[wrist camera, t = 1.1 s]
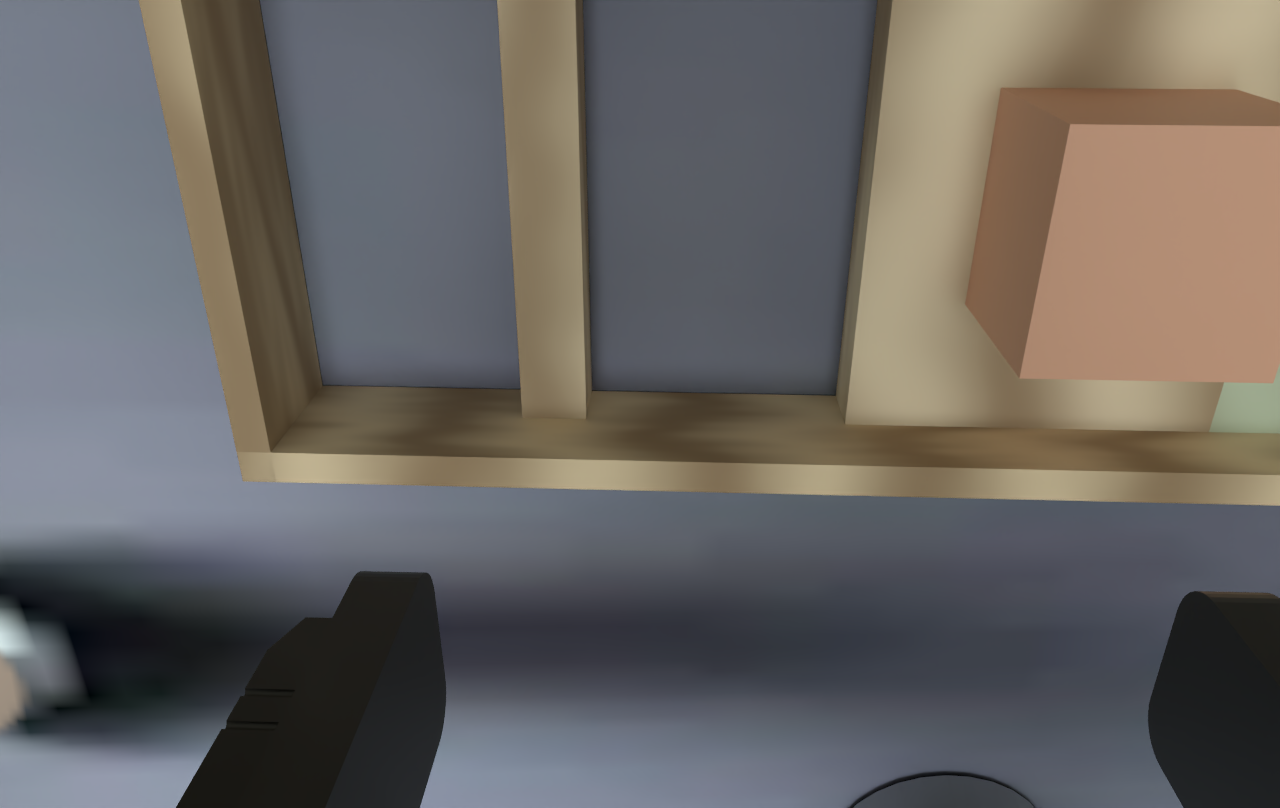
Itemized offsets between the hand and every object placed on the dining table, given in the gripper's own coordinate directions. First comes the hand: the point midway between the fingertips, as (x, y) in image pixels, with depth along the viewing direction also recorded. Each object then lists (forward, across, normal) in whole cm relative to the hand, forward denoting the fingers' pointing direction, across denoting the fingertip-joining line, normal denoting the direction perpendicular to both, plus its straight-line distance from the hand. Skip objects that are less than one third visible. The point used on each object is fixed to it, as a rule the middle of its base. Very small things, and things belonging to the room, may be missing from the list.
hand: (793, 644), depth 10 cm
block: (+18, -10, 0) cm, 21 cm away
